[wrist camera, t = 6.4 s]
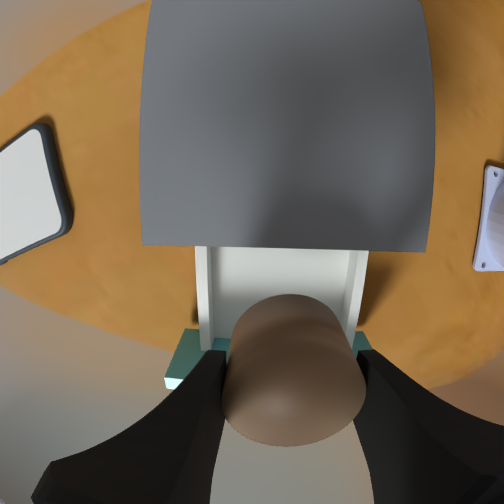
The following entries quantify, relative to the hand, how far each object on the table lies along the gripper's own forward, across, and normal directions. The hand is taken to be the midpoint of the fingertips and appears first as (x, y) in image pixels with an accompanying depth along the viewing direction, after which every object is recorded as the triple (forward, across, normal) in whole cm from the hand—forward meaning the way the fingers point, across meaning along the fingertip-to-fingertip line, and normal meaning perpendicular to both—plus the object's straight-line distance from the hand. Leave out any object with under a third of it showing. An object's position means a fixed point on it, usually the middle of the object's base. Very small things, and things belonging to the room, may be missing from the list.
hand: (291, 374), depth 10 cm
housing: (+10, 0, -10) cm, 14 cm away
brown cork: (+2, 0, 0) cm, 2 cm away
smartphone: (+10, +23, -5) cm, 25 cm away
